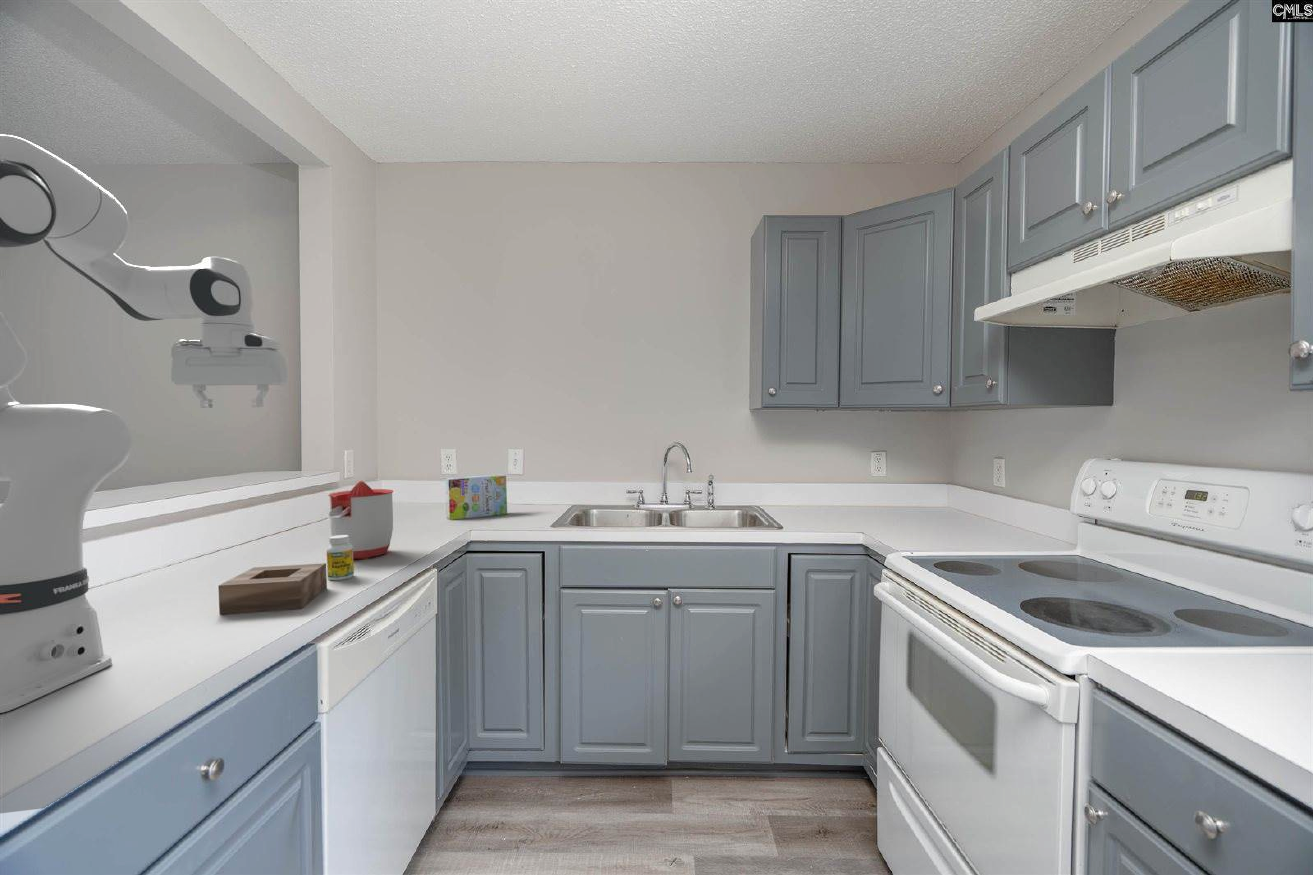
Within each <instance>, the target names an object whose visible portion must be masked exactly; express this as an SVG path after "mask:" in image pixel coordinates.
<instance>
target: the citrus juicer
mask: <svg viewBox="0 0 1313 875" xmlns="http://www.w3.org/2000/svg"><path fill="white" fill-rule="evenodd" d="M393 493H394V490H393V489H385V488H371V487H370V485H368V484H367V483H366V482H364V481H362V480H360V481H359V482H357V483H356V484H355V485H354V487H353V488H352V489H351V490H344V491H337V492H331V493H329V494H328V497H329V513H328V517H330V521H329V522H330V533H331V534H330V535H331V537H332V536H337V535H349V542H348V544H351V545H352V547H353V560H355V559H360V560H367V559H369V558H373V557H376V556H377V557H378V556H380V555H384V554H386V553H387V552H388V550H389V548H390V545H391V540H392V538H393V530H394V511H393V510H394V505H393V503H394V502H393Z"/></svg>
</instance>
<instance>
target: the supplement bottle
mask: <svg viewBox="0 0 1313 875" xmlns="http://www.w3.org/2000/svg"><path fill="white" fill-rule="evenodd" d="M348 542H349V535H337V536H332V535H331V536H329V538H328V543H329V546H328V547H327V548H326V574H327V580H329V581H343V580H348V579H351V578H353V577H354V575H355V570H354V568H355V566H354V559H353V547H352V545H351V544H348Z"/></svg>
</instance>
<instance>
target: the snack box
mask: <svg viewBox="0 0 1313 875" xmlns="http://www.w3.org/2000/svg"><path fill="white" fill-rule="evenodd" d="M507 489H508V488H507V475H505V474H491V475H488V474H486V475H472V476H471V475H470V476H462V477H461V476H459V477H451V478H450V477H449V478H445V501H446V502H445V503H446V505H445V506H446V509H445V510H446V519H448V520H449V521H453V520H463V519H474V518H481V517H482V518H483V517H493V516H502V515H503V516H504V515H507V514H508V500H507V499H508V496H507Z"/></svg>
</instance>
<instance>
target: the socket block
mask: <svg viewBox="0 0 1313 875" xmlns="http://www.w3.org/2000/svg"><path fill="white" fill-rule="evenodd" d="M327 580H328V574H327V562H326V563H325V562H324V563H308V564H293V565H292V564H291V565H287V564H286V565H274V566H273V565H271V566H254V567H252V568H250V569H248V570H246V571H244V572H242V573H240V574H238V575H236V576H235V577H232V578H230V579H228V580H226V581H224V582H223V583H220V584H218V605H219V606H218V607H219V608H218V610H219V615H220V614H221V615H232V613H236V614H248V613H247V612H250V613H262V611H264V612H273V611H274V612H275V611H276V612H277V611H288V610H289V611H290V610H302V609H303V608H304V607H305V606H306V605H307V606H308V604H309V603H311V602H312V601H313V600H315V599H316V598H317V597H318V596H319V595H321V594H322V593H323V592H325V591H326V590H327V589H328V582H327Z"/></svg>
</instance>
